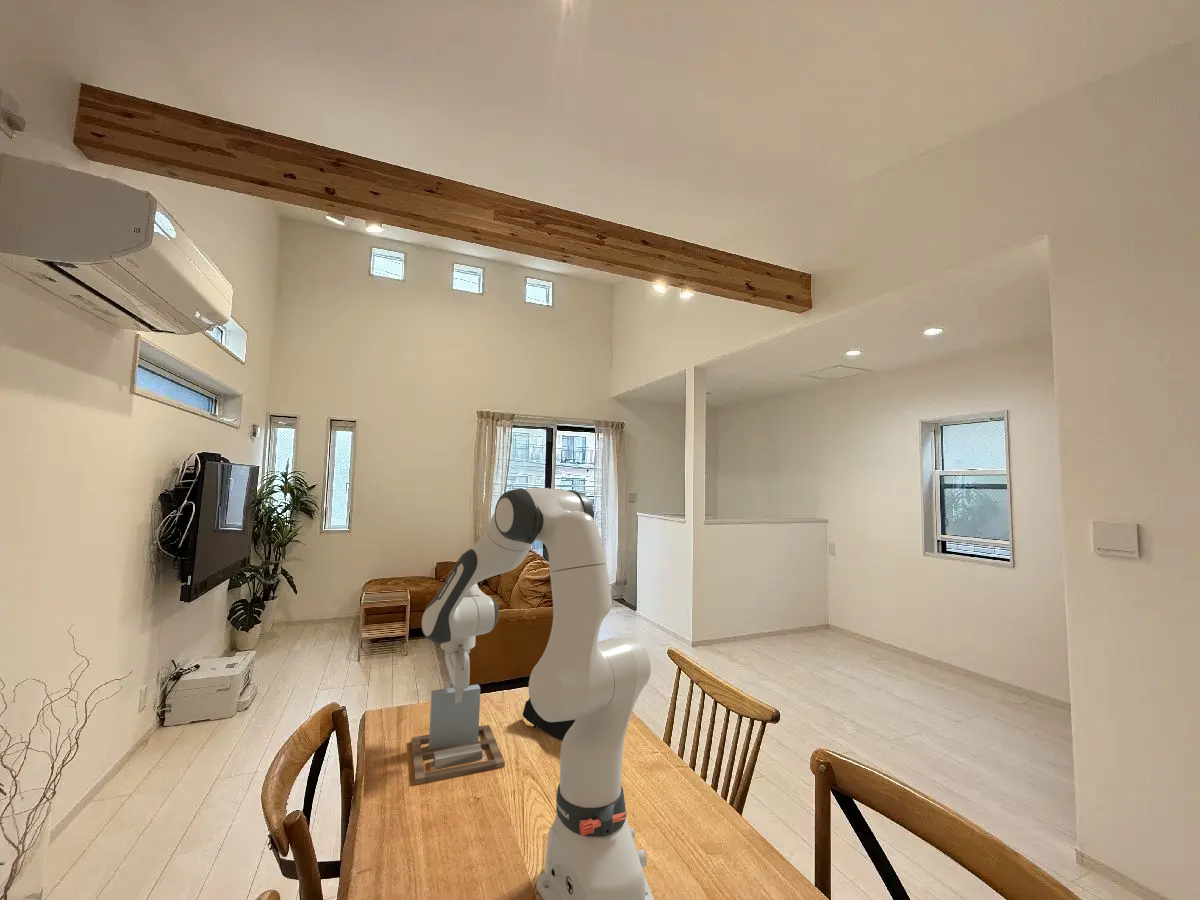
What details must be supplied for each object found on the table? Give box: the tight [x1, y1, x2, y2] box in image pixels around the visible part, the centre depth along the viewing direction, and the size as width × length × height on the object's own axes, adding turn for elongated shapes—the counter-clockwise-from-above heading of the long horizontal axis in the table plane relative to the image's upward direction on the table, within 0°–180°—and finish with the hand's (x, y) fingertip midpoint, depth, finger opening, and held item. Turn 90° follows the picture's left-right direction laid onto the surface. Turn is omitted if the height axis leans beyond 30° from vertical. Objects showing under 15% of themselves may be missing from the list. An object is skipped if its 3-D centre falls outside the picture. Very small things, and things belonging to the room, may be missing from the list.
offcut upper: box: [432, 744, 484, 770], centre depth 118 cm, size 4×11×2 cm, turn 115°
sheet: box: [428, 684, 481, 750], centre depth 126 cm, size 3×12×15 cm, turn 114°
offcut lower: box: [428, 751, 487, 771], centre depth 118 cm, size 4×13×2 cm, turn 114°
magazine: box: [522, 697, 576, 742], centre depth 132 cm, size 17×3×30 cm
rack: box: [410, 724, 506, 786], centre depth 121 cm, size 20×20×2 cm
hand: (455, 694), depth 127 cm, fingers open, 8 cm apart
